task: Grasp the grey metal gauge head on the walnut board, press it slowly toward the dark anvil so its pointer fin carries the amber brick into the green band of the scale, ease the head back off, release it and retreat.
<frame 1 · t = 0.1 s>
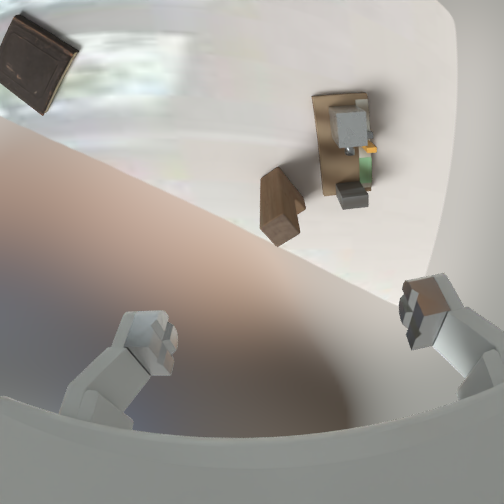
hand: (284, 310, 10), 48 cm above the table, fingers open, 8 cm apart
bench: (343, 144, 52), on the table
hardcover book: (32, 61, 40), on the table
gauge head: (355, 131, 46), point 5 cm above the table, slide at 0.0 cm
wooden block: (282, 188, 59), on the table
amber brick: (368, 146, 48), point 4 cm above the table, slide at 0.0 cm
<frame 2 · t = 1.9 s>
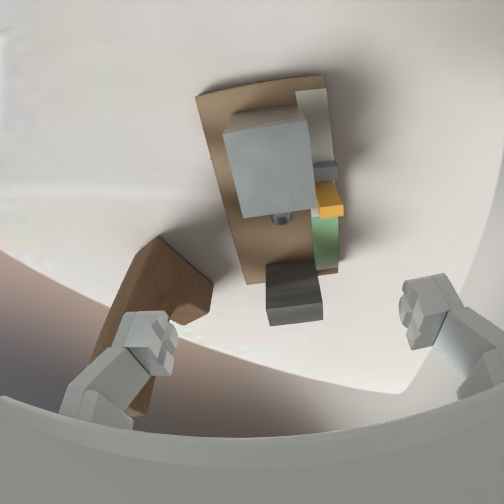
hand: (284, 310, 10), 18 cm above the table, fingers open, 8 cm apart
bench: (278, 189, 27), on the table
gauge head: (291, 168, 21), point 5 cm above the table, slide at 0.0 cm
wooden block: (175, 268, 34), on the table
amber brick: (327, 198, 23), point 4 cm above the table, slide at 0.0 cm
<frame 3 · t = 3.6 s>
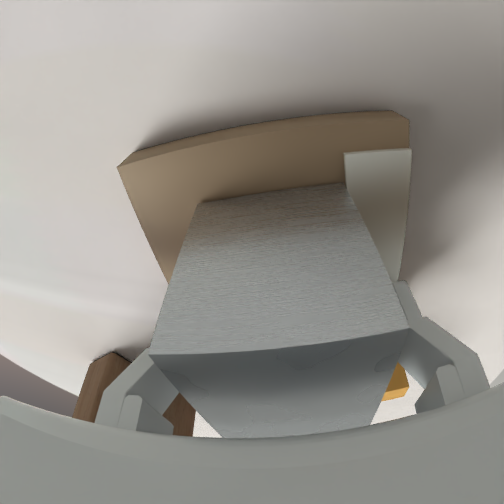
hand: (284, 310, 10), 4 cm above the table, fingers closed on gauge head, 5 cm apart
bench: (291, 312, 16), on the table
gauge head: (325, 338, 10), point 5 cm above the table, slide at 0.0 cm, touching gripper
wooden block: (144, 380, 23), on the table
amber brick: (378, 357, 12), point 4 cm above the table, slide at 0.0 cm
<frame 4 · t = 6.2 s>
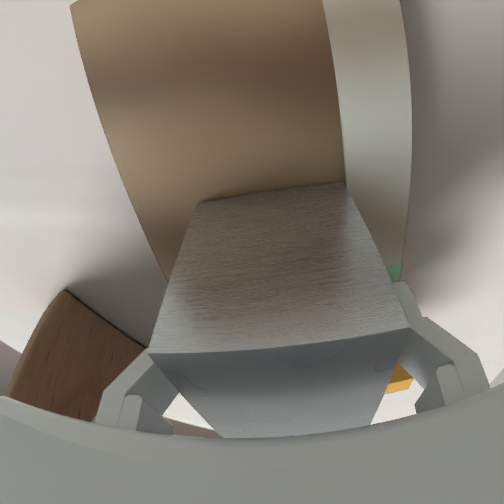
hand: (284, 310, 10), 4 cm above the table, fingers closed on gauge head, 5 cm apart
bench: (274, 206, 12), on the table
gauge head: (324, 337, 10), point 5 cm above the table, slide at 6.5 cm, touching gripper, amber brick
wooden block: (104, 334, 19), on the table
amber brick: (380, 348, 11), point 4 cm above the table, slide at 5.7 cm, touching gauge head
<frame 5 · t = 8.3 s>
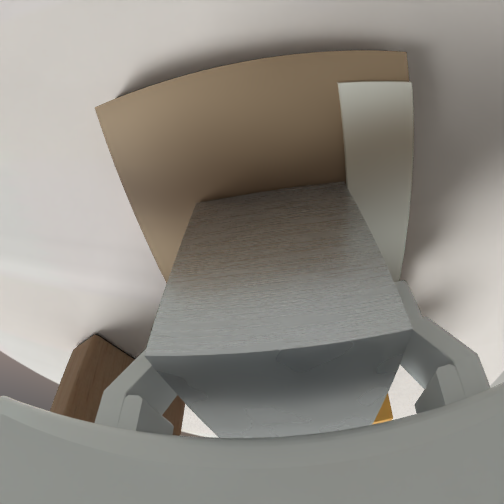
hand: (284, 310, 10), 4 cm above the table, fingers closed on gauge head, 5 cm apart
bench: (287, 283, 14), on the table
gauge head: (325, 339, 10), point 5 cm above the table, slide at 2.3 cm, touching gripper
wooden block: (130, 367, 21), on the table
amber brick: (369, 392, 14), point 4 cm above the table, slide at 5.9 cm
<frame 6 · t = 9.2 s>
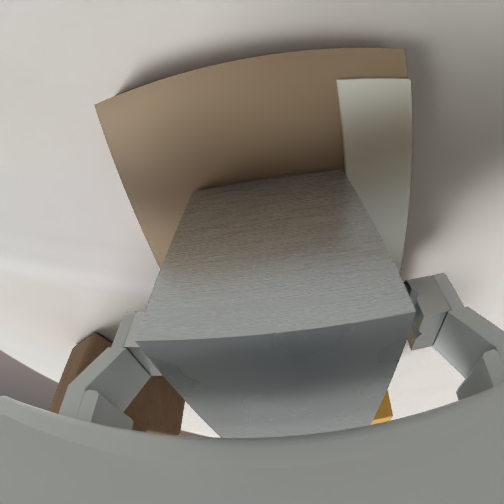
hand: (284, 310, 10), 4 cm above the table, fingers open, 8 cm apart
bench: (286, 280, 14), on the table
gauge head: (324, 330, 9), point 5 cm above the table, slide at 1.9 cm
wooden block: (130, 366, 21), on the table
amber brick: (368, 390, 14), point 4 cm above the table, slide at 5.9 cm
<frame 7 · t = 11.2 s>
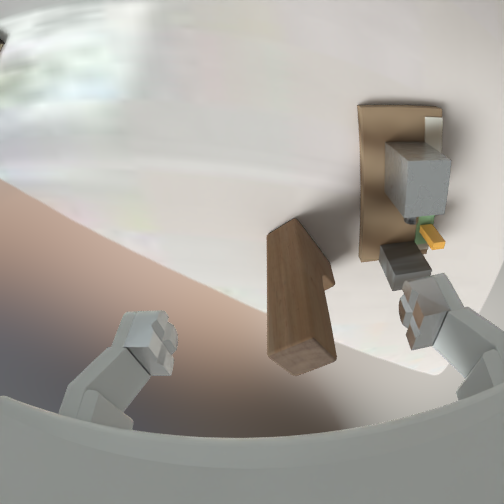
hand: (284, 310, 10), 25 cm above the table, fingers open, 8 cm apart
bench: (398, 185, 32), on the table
gauge head: (424, 186, 28), point 5 cm above the table, slide at 1.9 cm
wooden block: (299, 248, 39), on the table
amber brick: (432, 236, 32), point 4 cm above the table, slide at 5.9 cm
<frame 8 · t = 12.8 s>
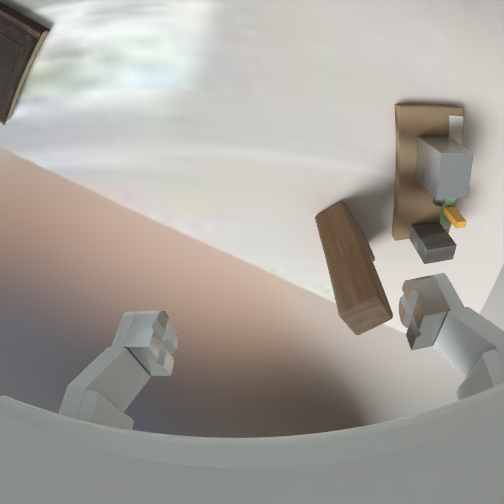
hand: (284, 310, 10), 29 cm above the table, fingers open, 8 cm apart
bench: (425, 173, 36), on the table
gauge head: (450, 174, 31), point 5 cm above the table, slide at 1.9 cm
wooden block: (342, 228, 42), on the table
amber brick: (454, 217, 35), point 4 cm above the table, slide at 5.9 cm
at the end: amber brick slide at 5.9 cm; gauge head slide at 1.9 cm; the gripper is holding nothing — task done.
